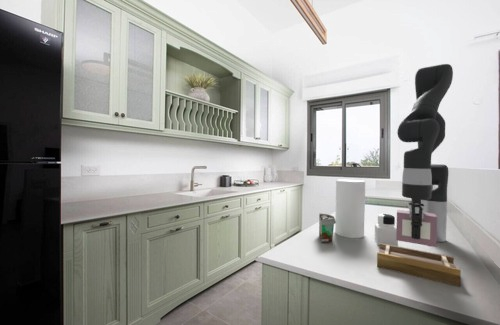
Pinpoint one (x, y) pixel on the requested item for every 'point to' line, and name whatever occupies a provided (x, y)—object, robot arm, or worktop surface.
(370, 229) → the worktop surface
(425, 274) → the wooden serving tray
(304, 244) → the worktop surface
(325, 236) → the food container
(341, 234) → the cylinder
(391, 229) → the medicine bottle
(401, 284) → the worktop surface
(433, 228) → the tea box
